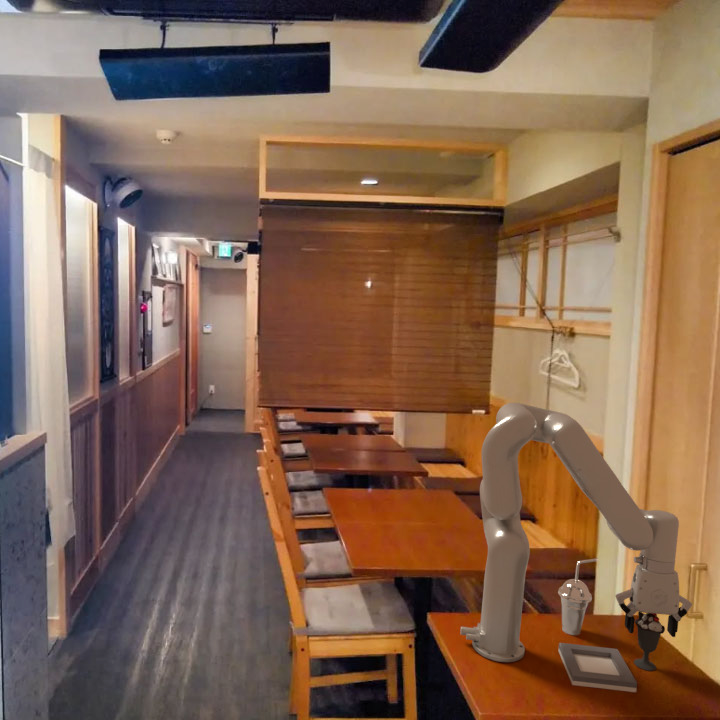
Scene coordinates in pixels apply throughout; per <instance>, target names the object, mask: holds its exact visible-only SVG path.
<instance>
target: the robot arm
mask: <svg viewBox="0 0 720 720" xmlns="http://www.w3.org/2000/svg"><path fill="white" fill-rule="evenodd" d="M495 417H496V419H495V420H496V421H495V422H496V423H495V424H494V426H492V428H491V429H489V431H488V433H487V434H486V436H485V438H484V441H483V443H482V446H481V468H482V471H481V472H482V480H481V481H480V484H479V485H480V486H479V497H480V498H479V499H480V507H481V517H482V524H483V531H484V536H485V539H486V544H487V558H486V564H485V571H484V577H483V578H484V580H483V593H482V603H481V604H482V605H481V612H480V613H481V614H480V622H477V626H473V627H468V626H463V625H462V626H460V631H459V632H460V635H462V636H466V637H465V640H469V641H472V643H471V644H472V648H473V650H475V652H476V653H478V654H479V655H481V656H482V657H483V658H486V659H488V660H491V661H494V662H500V663H514V662H517V661H520V660H521V659H522V658H524V656H525V651H526V649H525V648H526V647H525V646H524V644H523V642H522V641H520V633H521V623H522V613H523V605H524V604H523V603H524V594H525V592H524V591H525V584H526V583H525V582H526V574H527V573H526V572H527V568H528V563H529V559H530V552H531V550H530V542H529V538H528V535H527V533H526V531H525V529H524V528H523V526H522V523H521V521H522V520H521V512H520V511H521V509H522V506H523V494H522V489H521V482H520V475H519V454H520V451H521V450H522V448H523V447H524V446H525V445H526V444H528V443H529V442H530V441H535V442H540V443H544V444H549V446H550V447H551V448H552V450H553V451H554V453H555V454H556V456H557V457H558V459H559V460H560V461H561V463H562V464H563V466H564V467H565V469H566V470H567V472H569V474H570V476H571V477H572V479H573V480H574V482H575V483H576V485H577V486H578V488H580V490H581V491H582V493H584V495H585V496H586V497H587V498H588V499H589V500H590V501H591V502H592V503H593V505H594V506H595V507H596V508H597V509H598V511H599V512H600V514H601V515H602V516H603V517H604V518H605V520H606V524H607V527H608V529H609V530H610V531H611V532H612V533H613V535H614V536H615V537H616V538H617V539H618V540H619V541H620V543H621V544H622V546H624V547H626V548H627V549H629V550H632V551H640V552H639V555H638V556H634V557H633V562H634V563H635V564H636V566H635V570H634V572H633V576H632V580H631V585H630V589H627V590H625V591H622V592H619V593H617V594H615V599H616V601H617V603H618V606H619V608H621V610H622V611H623V612H624V613H625V616H624V626H625V628H626V629H627V630H628V632H629V634H634V631H635V630H634V629H635V620H636V617H634V615H635V614H636V613H637V612H642V613H643V614H646V613H654V614H657V615H668V618H667V627H666V630H667V632H668V633H669V635H670V636H671V637H672V638H676V633H677V632H678V628H679V622H681V620H682V618H683V617H684V616H686V615H687V614H688V611H690V609H691V608H692V606H693V604H692V602H691V601H690V600H688V598H686V597H684V596H682V595H680V580H679V574H678V572H677V571H676V570H675V566H676V565H675V564H676V558H677V557H676V555H677V546H678V545H677V544H678V536H679V528H680V527H679V526H680V521H679V519H678V517H677V516H676V514H673V513H671V512H668V511H666V510H665V511H664V510H660V509H658V510H657V509H652V510H647V509H641V508H639V506H638V505H637V503H636V502H635V501H634V499H633V498H632V496H631V495H630V494H629V492H628V491H627V490H626V488H625V487H624V486H623V484H622V483H621V481H620V480H619V478H618V477H617V475H616V474H615V472H614V471H613V469H612V468H611V466H610V465H609V464H608V462H607V461H606V459H605V458H604V457H603V455H602V454H601V452H600V451H599V450H598V448H597V447H596V446H595V443H594V442H593V441H592V439H591V438H590V436H589V435H588V434H587V432H586V431H585V429H584V427H582V425H581V424H580V423H579V422H578V421H577V419H574V418H573V417H571V416H570V415H568V414H566V413H563V412H559V411H555V410H552V409H551V410H549V409H545V408H541V407H537V406H532V405H528V404H525V403H520V402H508V403H505V404H503V405H502V406H501V407H500V408H499V410H498V411H497V413H496V415H495ZM627 599H629V603H628V604H627V605H626V604H625V600H627ZM680 603H681V604H682V605H681V606H680Z"/></svg>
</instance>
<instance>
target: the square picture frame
mask: <svg viewBox="0 0 720 720" xmlns="http://www.w3.org/2000/svg"><path fill="white" fill-rule="evenodd" d="M557 652H558V654H559V655H560V658H561V662H562V664H563V665H564V668H565V670H566V673H567V675H568V678H569V680H570V683H571V685H572V686H578V687H586V688H588V687H589V688H595V689H597V688H598V689H605V690H612V691H622V692H629V693H637V687H638V682H637V679H636V678H635V677H634V675H633V674H632V672H631V670H630V669H629V666H628V665H627V663H626V661H625V660H624V657H623V656H622V654H621V653H620V651H619V650H618V648H611V647H602V646H595V645H594V646H593V645H585V644H584V645H583V644H575V643H565V642H559V643H558V651H557Z"/></svg>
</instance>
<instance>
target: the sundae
mask: <svg viewBox="0 0 720 720" xmlns="http://www.w3.org/2000/svg"><path fill="white" fill-rule="evenodd" d="M637 612H638V615H637V616H638V617H637V618H635V621H634V625H636V627H637V643H638V646H639V647H640V649H641V650H642V651H643V656H642V658H636V659H634V661H633V663H634V665H635V666H636V667H637V668H638V669H641V670H643V671H646V672H647V671H648V672H653V671H656V670H657V666H656V665H655V663H653V662H652V661H650V659H649V656H650V654H651V653H653V652H654V651H656V649H657V647H658V645H659V641H660V637H661V634H664V632H665V631H666V628H665V625H663V624H662V623H661V622H660V618H659V617H658V614H654V613H644V612H639V611H637Z"/></svg>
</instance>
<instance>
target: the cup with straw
mask: <svg viewBox="0 0 720 720" xmlns="http://www.w3.org/2000/svg"><path fill="white" fill-rule="evenodd" d="M598 561H599V559H598V558H591V559H583V560H582V559H581V560H579V561H577V562H576V567H575V576H574V578H570V579H567V580H566V581H565V582H564V583H563V584H562V585H561V586H560V587H559V588H558V591H557V593H558V595H559V596H560V601H561V602H560V603H561V626H562V627H561V629H562V632H564V633H565V634H568V635H570V636H578V635H580V634H581V630H582V626H583V622H584V619H585V613H586V609H587V607H588V605H589V603H591V602H592V599H593V597H592V594H591V593H590V590H589V588H588V586H587V585H586V583H584V582H583V581H582V580H580V579H579V572H580V565H581V564H587V563H593V562H598Z"/></svg>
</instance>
